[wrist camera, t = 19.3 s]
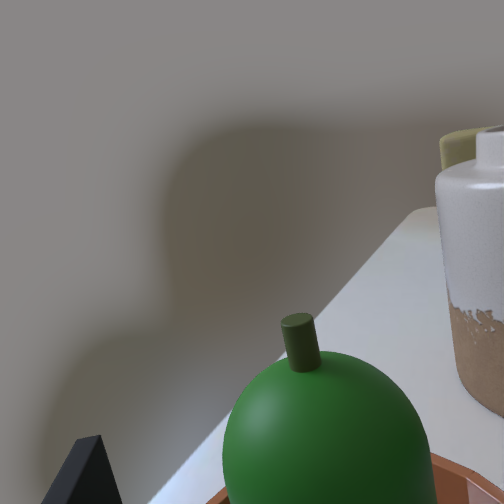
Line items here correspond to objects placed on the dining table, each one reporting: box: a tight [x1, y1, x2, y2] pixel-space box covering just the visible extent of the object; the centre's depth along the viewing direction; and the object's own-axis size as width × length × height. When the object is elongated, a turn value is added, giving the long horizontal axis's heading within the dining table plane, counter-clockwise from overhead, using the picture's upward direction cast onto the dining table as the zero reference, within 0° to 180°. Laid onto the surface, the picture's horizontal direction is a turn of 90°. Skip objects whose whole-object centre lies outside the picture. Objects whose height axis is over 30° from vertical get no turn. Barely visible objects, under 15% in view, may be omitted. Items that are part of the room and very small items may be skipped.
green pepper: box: [222, 313, 438, 504], centre depth 16 cm, size 7×7×13 cm
